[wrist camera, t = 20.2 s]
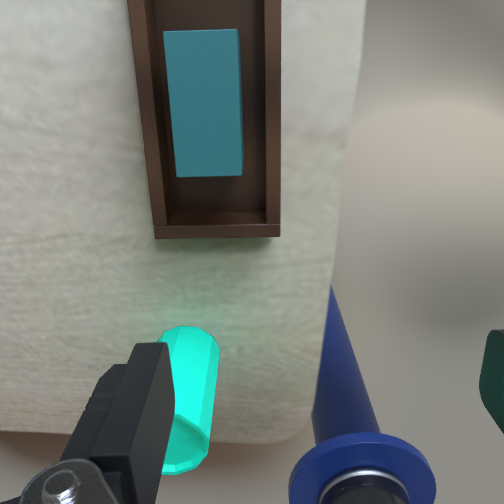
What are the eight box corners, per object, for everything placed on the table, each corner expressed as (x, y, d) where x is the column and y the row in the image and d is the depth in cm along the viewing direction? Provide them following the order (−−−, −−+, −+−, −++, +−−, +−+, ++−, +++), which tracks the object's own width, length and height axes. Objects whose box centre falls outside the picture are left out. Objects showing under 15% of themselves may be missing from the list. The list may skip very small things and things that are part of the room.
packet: (240, 34, 30) (236, 29, 24) (244, 155, 33) (242, 176, 27) (179, 36, 30) (162, 31, 24) (189, 157, 33) (176, 177, 27)
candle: (190, 313, 39) (164, 414, 28) (233, 358, 41) (226, 469, 30) (140, 349, 41) (97, 457, 30) (185, 390, 42) (160, 507, 31)
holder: (277, 219, 36) (280, 237, 32) (164, 221, 36) (154, 239, 32) (278, -60, 28) (281, -76, 25) (135, -56, 28) (118, -71, 25)
